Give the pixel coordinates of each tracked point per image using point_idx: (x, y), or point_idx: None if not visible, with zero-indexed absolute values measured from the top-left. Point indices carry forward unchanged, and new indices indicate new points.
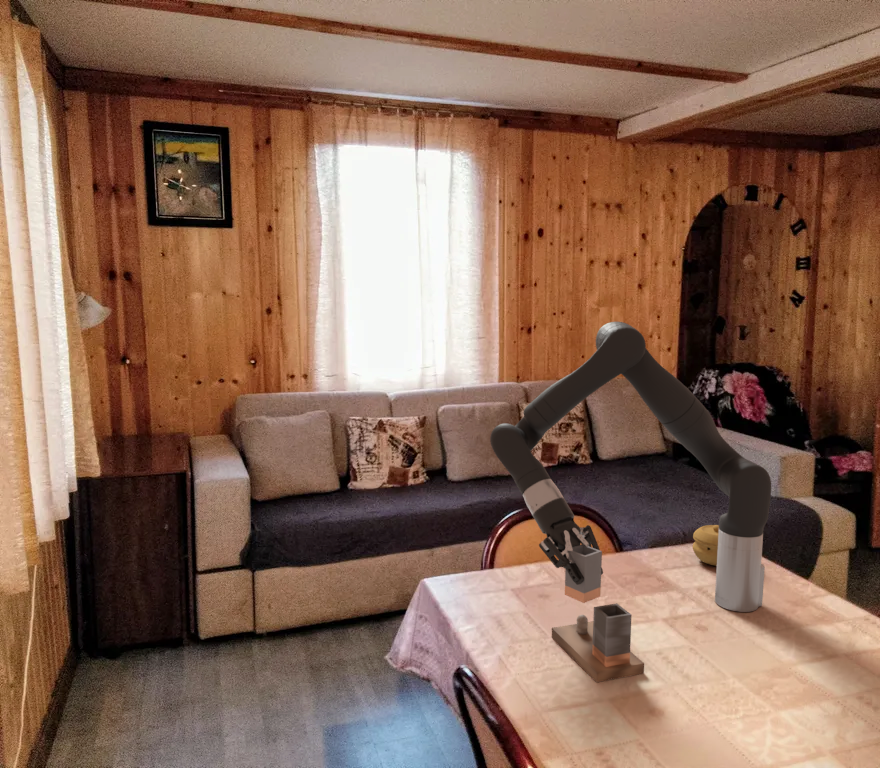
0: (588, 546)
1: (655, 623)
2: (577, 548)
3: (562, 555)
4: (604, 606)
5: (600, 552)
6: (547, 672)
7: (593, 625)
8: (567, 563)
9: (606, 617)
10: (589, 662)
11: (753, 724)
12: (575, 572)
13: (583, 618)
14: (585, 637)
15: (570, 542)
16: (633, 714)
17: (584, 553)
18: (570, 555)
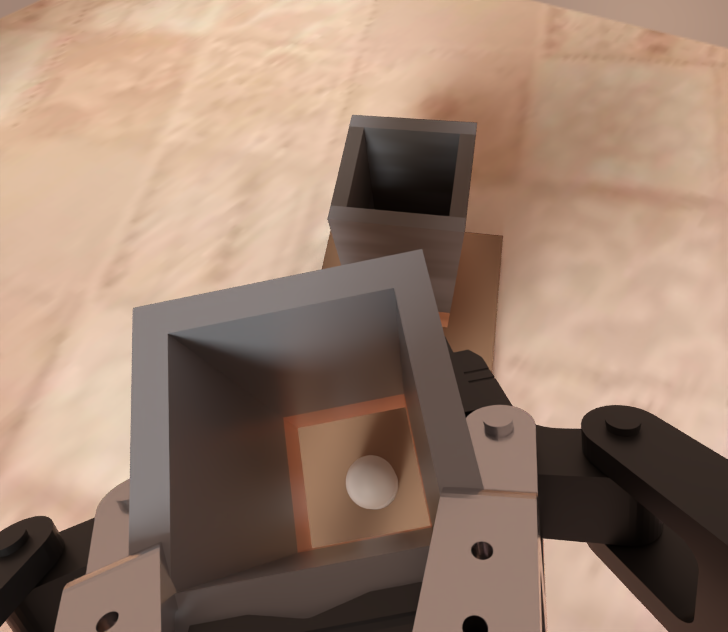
0: (138, 517)
1: (42, 464)
2: (294, 572)
3: (634, 468)
4: (408, 217)
5: (164, 305)
6: (619, 362)
7: (455, 277)
8: (548, 432)
9: (475, 133)
10: (490, 288)
11: (286, 22)
12: (476, 381)
13: (376, 462)
14: (392, 437)
15: (422, 605)
16: (496, 117)
17: (213, 549)
18: (491, 466)
